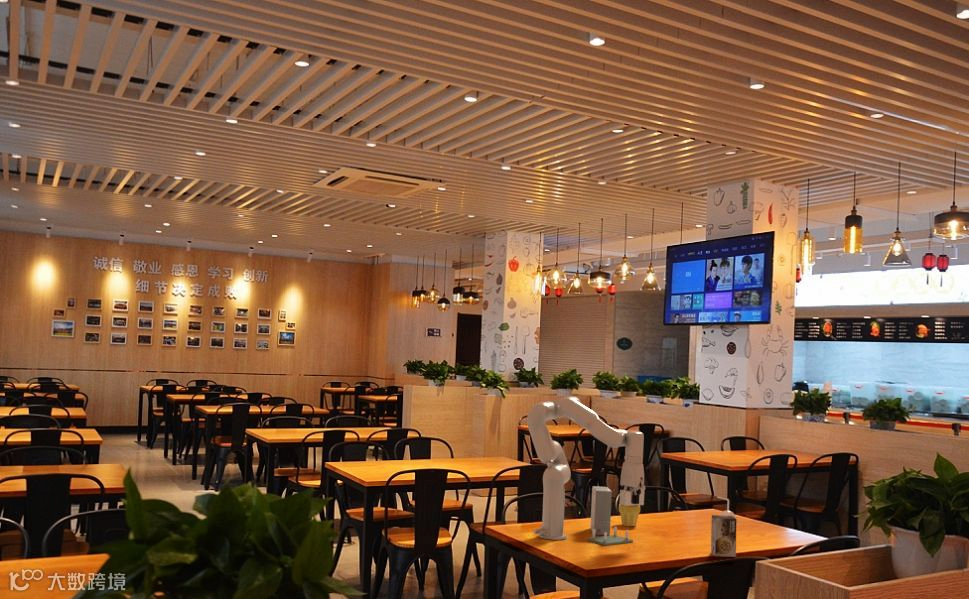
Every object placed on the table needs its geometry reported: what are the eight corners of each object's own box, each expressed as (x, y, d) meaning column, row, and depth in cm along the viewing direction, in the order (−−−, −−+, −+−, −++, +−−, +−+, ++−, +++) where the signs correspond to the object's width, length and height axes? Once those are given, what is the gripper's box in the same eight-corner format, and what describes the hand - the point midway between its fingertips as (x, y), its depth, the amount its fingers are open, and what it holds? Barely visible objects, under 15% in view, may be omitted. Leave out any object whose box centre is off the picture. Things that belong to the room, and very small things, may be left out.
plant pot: (613, 524, 417) (614, 503, 417) (628, 522, 423) (629, 502, 423) (629, 528, 408) (629, 507, 409) (644, 526, 414) (644, 506, 415)
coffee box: (731, 553, 364) (732, 515, 366) (736, 557, 358) (737, 518, 359) (710, 552, 364) (711, 514, 365) (714, 556, 358) (715, 517, 359)
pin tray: (604, 545, 367) (605, 534, 367) (587, 540, 376) (587, 528, 376) (632, 542, 377) (633, 530, 377) (615, 537, 386) (615, 526, 386)
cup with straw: (733, 544, 384) (734, 499, 386) (713, 540, 389) (715, 496, 390) (738, 541, 391) (740, 497, 393) (719, 537, 396) (720, 494, 398)
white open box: (625, 505, 363) (626, 491, 364) (619, 504, 367) (620, 489, 367) (643, 504, 368) (644, 490, 369) (637, 503, 372) (638, 489, 372)
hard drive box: (610, 536, 388) (612, 491, 389) (593, 535, 388) (595, 490, 390) (606, 529, 404) (607, 486, 405) (589, 528, 404) (591, 485, 405)
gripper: (613, 457, 373) (611, 499, 372) (641, 463, 360) (639, 507, 359) (626, 457, 378) (623, 499, 377) (654, 462, 364) (652, 506, 363)
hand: (631, 502), depth 368 cm, fingers closed on white open box, 4 cm apart
